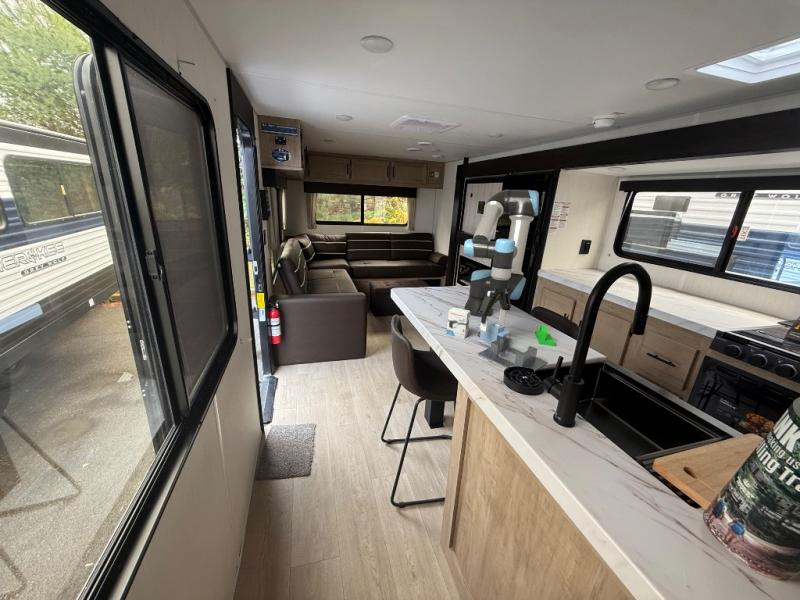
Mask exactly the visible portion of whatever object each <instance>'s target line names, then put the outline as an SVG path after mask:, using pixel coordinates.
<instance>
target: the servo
mask: <svg viewBox="0 0 800 600" xmlns="http://www.w3.org/2000/svg"><path fill="white" fill-rule="evenodd" d="M480 326H481V323H479V324H477V325H476V328H479V329H480ZM505 328H506V326H505V325H501V324H498V322H494V321H491V320H489V319H488V326H487V331H486V332H485V331H483V330H480V331H478V332H477V336H478V337H479V340H480V341H482V342H484V343H487V344H489V345H491V342H493V341H496V340H497V341H499V342H500V339H501V338H503V337H508V336H509V335H510V332H509V331H506V330H505ZM499 344H500V343H499Z"/></svg>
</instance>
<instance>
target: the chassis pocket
mask: <svg viewBox="0 0 800 600" xmlns="http://www.w3.org/2000/svg"><path fill="white" fill-rule="evenodd" d="M512 340H513V339H512V338H510V337H508V336H504V337H503V338H501V339H500V342H499V341H497V340H496V341H493V342H491V344H490V347H489V348H486V349H485V350H482V351H479V352H477V355H479V356H480V357H483V358H485V359H487V360H489V361H492V362H494V363H496V364H498V365H500V366H503V367H505V368H507V367H510V366H521V367H528V368H531V369H533V370H534V372H536V371H537V370H539V369H540V368H542V367H543V366H545V365H547V364H548V361H546V360H543V359H541V358H538V357H537V355H538V354H537V353H538V350H539V349H538V348H537V347H533V346H531V345H529V346H528V347H527V350H526V351H524V352H523V351H521V350H519V349H516V348H513V347H512ZM499 343H500V344H499Z"/></svg>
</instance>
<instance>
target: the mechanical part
mask: <svg viewBox="0 0 800 600" xmlns="http://www.w3.org/2000/svg"><path fill="white" fill-rule="evenodd" d="M547 331H548V327H547V325H544V324H540V325H539V328H538V330H535V329H534V335H535V338H536V339H537V342H538V344H539V345H543V346H549V347H555V344H556V342H555V340H554V338H553V336H552V334H551V333H549V332H547Z"/></svg>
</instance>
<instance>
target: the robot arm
mask: <svg viewBox="0 0 800 600" xmlns="http://www.w3.org/2000/svg"><path fill="white" fill-rule="evenodd" d="M539 196H540V194H539V192H538V191H537V190H530V189H504V190H500V191H498V192H496V193H495V194H493V195H492V196H490V198H488V199H487V201H486V202H485V205H484V206H483V207H484V208H483V214H482V216H481V219H480V221H479V223H478V225H477V228H476V230H475V233H474V234H473V236H472V237H473V238H470V239H466V240H465V241H464V245H463V254H464V256H466V257H470V258H480V259H488V260H492V267H491V269H479V270H475V271H473V272H472V273H471V278H470V286H469V295H468V299H467V300H466V302H465V304H464V308H463V309H464V310H469V311H470V316H473V317H478V318H481V320H480V324H481V326H480V328H479V330H480V331H481V330H483V331H485V332H486V331H487V326H488V320H489V318H490V316H493V313H494V309H493V306H495V304H496V303H497V302H499V305H500V307H501V309H499V311H500V312H499V318H498V322H497V324H500V325H503V326H505V325H506V321H507V320H506V318H507V314H508V311H510V310H511V306H512V303H511V300H516V301H517V300H519V299H520V297H521V295H522V292H523V290H524V287H525V285H526V280H527V279H526V277H524V272H522V271H523V270H522V269H523V268H522V267H523V263H524V262H523V261H524V256H525V252H526V247H527V246H526V245H527V241H528V240H527V239H528V234H529V230H530V225H531V224H530V223H532V222H533V220H534V219H535V217H537V216H538V215H539V201H540V199H539ZM505 214H506V215H509V217H508V218H509V219H510V221H511V224H510V229H509V234H508V238H498V239H496V240H495V241H491V239H492V236H493V234H494V231H495V228H496V225H497V224H498V221H499V219H500V217H502V215H505Z"/></svg>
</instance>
